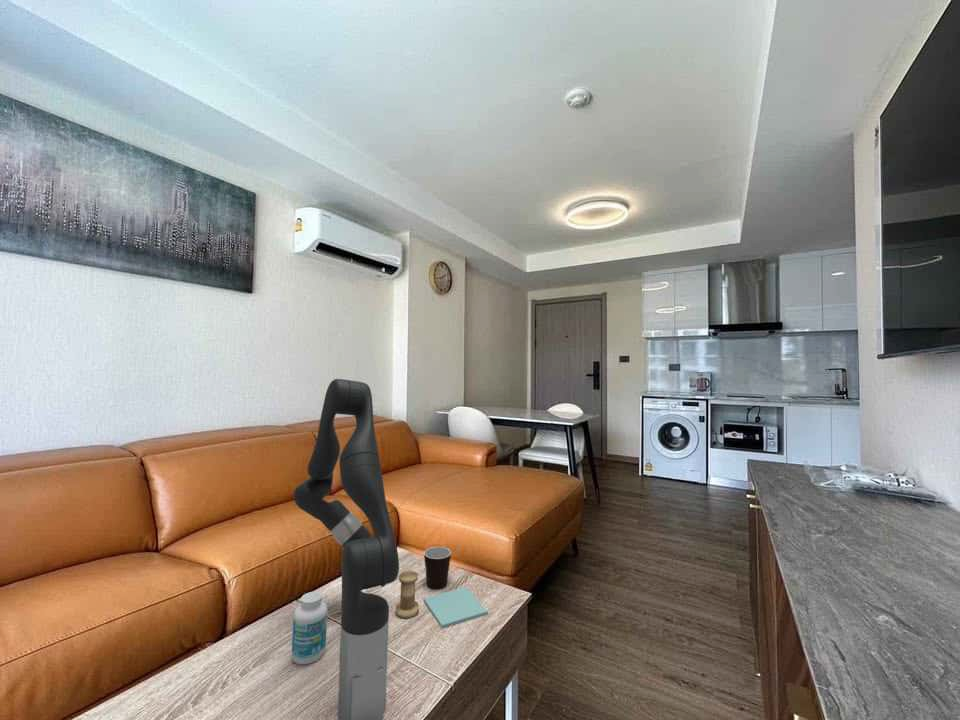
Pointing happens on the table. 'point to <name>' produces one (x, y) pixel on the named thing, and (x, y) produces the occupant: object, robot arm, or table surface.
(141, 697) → the table surface
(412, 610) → the tan chess pawn
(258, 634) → the table surface
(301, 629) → the pill bottle
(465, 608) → the mat
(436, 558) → the coffee mug
